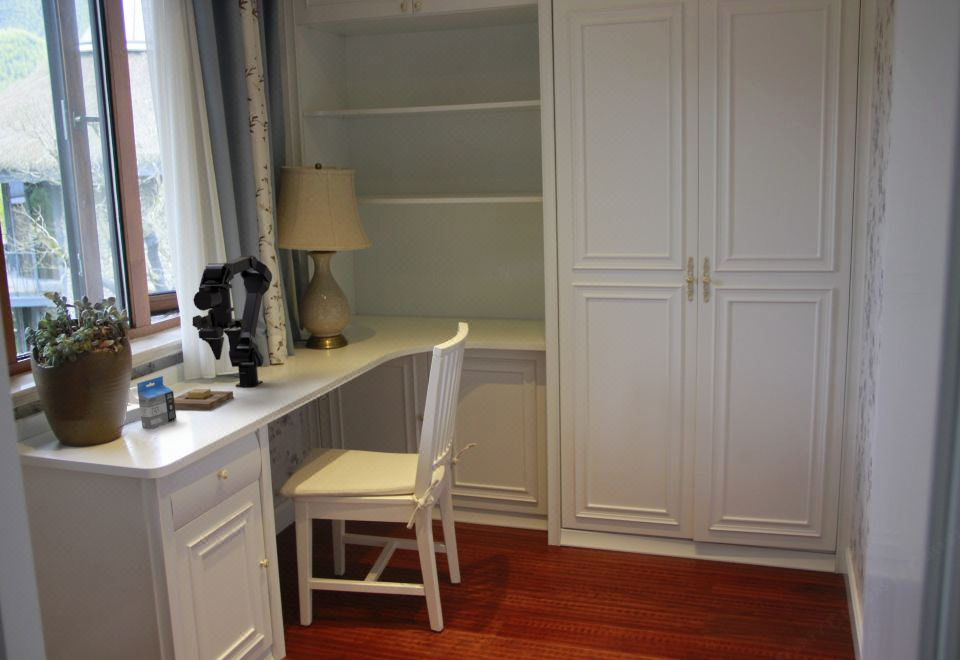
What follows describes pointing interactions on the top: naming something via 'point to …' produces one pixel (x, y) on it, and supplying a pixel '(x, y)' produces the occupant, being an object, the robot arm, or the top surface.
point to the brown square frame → (202, 401)
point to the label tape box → (156, 403)
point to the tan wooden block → (199, 394)
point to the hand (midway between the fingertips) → (225, 356)
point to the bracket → (133, 407)
